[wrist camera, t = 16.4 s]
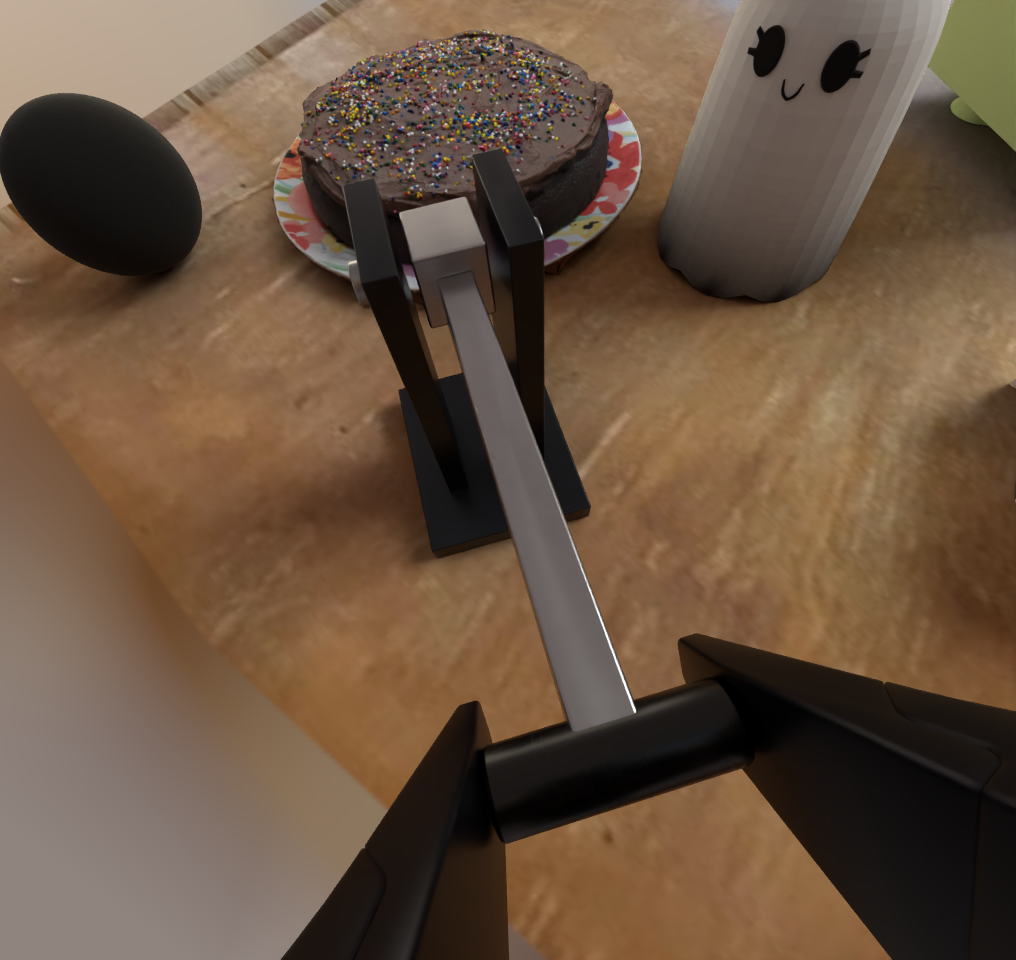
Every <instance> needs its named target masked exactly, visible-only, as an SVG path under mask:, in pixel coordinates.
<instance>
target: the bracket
mask: <svg viewBox="0 0 1016 960" xmlns="http://www.w3.org/2000/svg"><path fill="white" fill-rule="evenodd" d="M471 159H472V166H473V174H474V181H475V189H476V197H477V204H478V212H479V219H480V227H481V232H482V234H483V236H484V239H485V241H486V243H487V249H488V256H489V263H490V270H491V277H492V284H493V291H494V298H495V304H496V312H494V313H492V318H493V325H494V330H495V333H496V336H497V338H498V341H499V344H500V346H501V349H502V352H503V354H504V357H505V360H506V362H507V365H508V368H509V370H510V373H511V376H512V378H513V381H514V384H515V386H516V389H517V392H518V394H519V397H520V399H521V402H522V405H523V407H524V410H525V413H526V415H527V418H528V421H529V423H530V426H531V429H532V431H533V434H534V437H535V439H536V442H537V445H538V447H539V450H540V453H541V455H542V458H543V461H544V463H545V466H546V469H547V471H548V474H549V476H550V479H551V482H552V484H553V487H554V490H555V492H556V495H557V498H558V500H559V503H560V506H561V508H562V511H563V514H564V516H565V519H566V522H568V521H571V520H575V519H578V518H582V517H585V516H588V515H589V512H590V508H591V505H590V503H589V500H588V498H587V495H586V492H585V490H584V487H583V485H582V482H581V479H580V477H579V474H578V471H577V469H576V466H575V464H574V461H573V458H572V456H571V453H570V451H569V448H568V445H567V443H566V440H565V438H564V435H563V432H562V430H561V427H560V425H559V422H558V419H557V417H556V414H555V411H554V409H553V406H552V404H551V401H550V398H549V396H548V393H547V391H546V388H545V385H544V261H545V243H544V237H543V232H542V229H541V226H540V223H539V221H538V219H537V218H536V217H534V216H533V214H532V212H531V209H530V207H529V205H528V203H527V201H526V199H525V196H524V194H523V192H522V190H521V188H520V186H519V183H518V181H517V179H516V177H515V175H514V173H513V171H512V168H511V166H510V164H509V162H508V160H507V158H506V155H505V153H504V151H503V149H502V148H498V149H493V150H489V151H485V152H481V153H476V154H473V155H472V156H471ZM343 192H344V198H345V203H346V208H347V214H348V219H349V224H350V229H351V235H352V240H353V245H354V251H355V256H356V260H355V261H351V262H349V263H348V271H349V275H350V279H351V282H352V286H353V289H354V291H355V294H356V297H357V299H358V301H359V303H360V305H361V307H362V308H363V309H367V308H371V309H372V311H373V314H374V316H375V318H376V321H377V323H378V325H379V328H380V330H381V332H382V335H383V337H384V339H385V342H386V344H387V346H388V349H389V351H390V353H391V356H392V358H393V360H394V363H395V365H396V367H397V370H398V372H399V374H400V377H401V379H402V381H403V384H404V386H405V388H403V389H399V396H400V401H401V406H402V410H403V415H404V420H405V425H406V430H407V434H408V439H409V444H410V449H411V453H412V458H413V463H414V468H415V472H416V477H417V482H418V487H419V492H420V496H421V501H422V506H423V511H424V515H425V520H426V525H427V530H428V535H429V539H430V544H431V549H432V552H433V553H434V555H435V556H436V557H437V558H441V557H444V556H448V555H451V554H455V553H458V552H462V551H465V550H469V549H472V548H476V547H479V546H483V545H486V544H490V543H493V542H497V541H501V540H504V539H508V538H511V535H510V532H509V528H508V525H507V522H506V518H505V515H504V511H503V508H502V505H501V501H500V498H499V495H498V491H497V488H496V484H495V481H494V478H493V474H492V471H491V468H490V464H489V461H488V457H487V454H486V451H485V447H484V444H483V441H482V437H481V434H480V430H479V427H478V424H477V420H476V417H475V414H474V410H473V407H472V403H471V400H470V397H469V393H468V390H467V387H466V383H465V380H464V376H463V373H460V374H457V375H453V376H449V377H445V378H441V379H438V376H437V373H436V369H435V366H434V363H433V360H432V357H431V354H430V351H429V347H428V344H427V341H426V338H425V335H424V332H423V329H422V325H421V322H420V319H419V316H418V313H417V310H416V307H415V303H414V300H413V297H412V294H411V291H410V288H409V285H408V281H407V278H406V275H405V272H404V269H403V266H402V263H401V259H400V256H399V253H398V250H397V247H396V244H395V241H394V237H393V234H392V231H391V228H390V225H389V222H388V219H387V215H386V212H385V209H384V206H383V203H382V200H381V197H380V193H379V190H378V187H377V184H376V181H375V179H374V178H370V179H366V180H362V181H357V182H353V183H349V184H345V185H343Z"/></svg>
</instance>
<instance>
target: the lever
mask: <svg viewBox="0 0 1016 960" xmlns="http://www.w3.org/2000/svg"><path fill="white" fill-rule="evenodd" d="M399 217H400V221H401V225H402V229H403V233H404V237H405V240H406V244H407V248H408V252H409V256H410V260H411V264H412V267H413V270H414V274H415V277H416V281H417V284H418V287H419V291H420V294H421V298H422V301H423V304H424V308H425V311H426V315H427V318H428V321H429V325H430V327H431V328H436V327H440V326H444V325H448V326H449V329H450V333H451V336H452V339H453V343H454V346H455V349H456V353H457V356H458V360H459V363H460V366H461V370H462V373H463V376H464V380H465V383H466V387H467V390H468V393H469V397H470V400H471V403H472V407H473V410H474V414H475V417H476V420H477V424H478V427H479V430H480V434H481V437H482V441H483V444H484V447H485V451H486V454H487V457H488V461H489V464H490V468H491V471H492V474H493V478H494V481H495V484H496V488H497V491H498V495H499V498H500V501H501V505H502V508H503V511H504V515H505V518H506V522H507V525H508V528H509V532H510V535H511V538H512V542H513V545H514V549H515V552H516V555H517V559H518V562H519V566H520V569H521V572H522V576H523V579H524V582H525V586H526V589H527V593H528V596H529V599H530V603H531V606H532V609H533V613H534V616H535V620H536V623H537V626H538V630H539V633H540V636H541V640H542V643H543V647H544V650H545V653H546V657H547V660H548V663H549V667H550V670H551V674H552V677H553V680H554V684H555V687H556V690H557V694H558V697H559V701H560V704H561V707H562V711H563V714H564V717H565V721H564V722H561V723H557V724H554V725H551V726H548V727H544V728H541V729H538V730H535V731H531V732H528V733H525V734H522V735H518V736H515V737H512V738H509V739H505V740H502V741H499V742H496V743H492V744H489V745H486V746H485V747H484V748H483V749H482V755H481V766H482V775H483V782H484V788H485V793H486V798H487V803H488V807H489V811H490V815H491V819H492V822H493V826H494V829H495V831H496V834H497V836H498V838H499V839H500V841H501V842H502V843H506V844H508V843H511V842H514V841H517V840H520V839H523V838H527V837H530V836H533V835H536V834H539V833H542V832H545V831H548V830H551V829H555V828H558V827H561V826H564V825H567V824H570V823H573V822H576V821H580V820H583V819H586V818H589V817H592V816H595V815H598V814H601V813H605V812H608V811H611V810H614V809H617V808H620V807H623V806H626V805H630V804H633V803H636V802H639V801H642V800H645V799H648V798H651V797H654V796H658V795H661V794H664V793H667V792H670V791H673V790H676V789H679V788H683V787H686V786H689V785H692V784H695V783H698V782H701V781H704V780H708V779H711V778H714V777H717V776H720V775H723V774H726V773H729V772H733V771H736V770H739V769H742V768H745V767H748V766H750V765H751V764H752V763H753V761H754V759H755V750H754V745H753V740H752V737H751V733H750V730H749V727H748V725H747V722H746V720H745V718H744V716H743V713H742V711H741V710H740V708H739V706H738V704H737V702H736V701H735V699H734V698H733V696H732V695H731V693H730V692H729V691H728V689H727V688H726V687H725V686H724V685H723V684H722V683H721V682H720V681H719V680H718V679H716V678H711V677H707V678H704V679H700V680H697V681H694V682H691V683H687V684H684V685H681V686H678V687H674V688H671V689H668V690H665V691H661V692H658V693H655V694H652V695H648V696H645V697H642V698H639V699H635V700H633V697H632V694H631V692H630V689H629V686H628V684H627V681H626V678H625V676H624V673H623V670H622V668H621V665H620V662H619V660H618V657H617V654H616V652H615V649H614V646H613V644H612V641H611V638H610V636H609V633H608V631H607V628H606V625H605V623H604V620H603V617H602V615H601V612H600V609H599V607H598V604H597V601H596V599H595V596H594V593H593V591H592V588H591V585H590V583H589V580H588V577H587V575H586V572H585V569H584V567H583V564H582V561H581V559H580V556H579V554H578V551H577V548H576V546H575V543H574V540H573V538H572V535H571V532H570V530H569V527H568V524H567V522H566V519H565V516H564V514H563V511H562V508H561V506H560V503H559V500H558V498H557V495H556V492H555V490H554V487H553V484H552V482H551V479H550V476H549V474H548V471H547V469H546V466H545V463H544V461H543V458H542V455H541V453H540V450H539V447H538V445H537V442H536V439H535V437H534V434H533V431H532V429H531V426H530V423H529V421H528V418H527V415H526V413H525V410H524V407H523V405H522V402H521V399H520V397H519V394H518V392H517V389H516V386H515V384H514V381H513V378H512V376H511V373H510V370H509V368H508V365H507V362H506V360H505V357H504V354H503V352H502V349H501V346H500V344H499V341H498V338H497V336H496V333H495V330H494V328H493V325H492V322H491V320H490V317H489V314H491V313H494V312H496V304H495V298H494V291H493V284H492V277H491V270H490V263H489V256H488V249H487V243H486V241H485V239H484V236H483V234H482V232H481V229H480V227H479V225H478V222H477V220H476V218H475V215H474V213H473V211H472V208H471V206H470V204H469V201H468V199H467V197H461V198H457V199H453V200H449V201H445V202H440V203H436V204H432V205H428V206H424V207H420V208H416V209H411V210H407V211H403V212H400V213H399Z"/></svg>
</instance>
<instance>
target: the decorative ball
mask: <svg viewBox="0 0 1016 960" xmlns="http://www.w3.org/2000/svg"><path fill="white" fill-rule="evenodd" d="M0 174H1V177H2V181H3V183H4V186H5V188H6V191H7V193H8V195H9V197H10V199H11V201H12V202H13V204H14V206H15V207H16V209H17V210H18V212H19V213H20V215H21V216H22V217H23V218H24V220H25V221H26V222H27V223H28V224H29V226H30V227H31V228H32V229H33V230H34V231H35V232H36V233H37V234H38V235H39V236H40V237H42V238H43V239H44V240H45V241H46V242H47V243H49V244H50V245H51V246H53V247H54V248H55V249H57V250H58V251H60V252H61V253H63V254H65V255H66V256H68V257H70V258H71V259H73V260H75V261H77V262H79V263H81V264H83V265H86V266H88V267H91V268H94V269H97V270H100V271H103V272H107V273H112V274H117V275H126V276H142V275H150V274H155V273H159V272H162V271H164V270H167V269H169V268H171V267H173V266H175V265H176V264H178V263H179V262H180V261H182V260H183V259H184V258H185V257H186V256H187V255H188V254H189V252H190V251H191V250H192V248H193V247H194V245H195V243H196V241H197V239H198V236H199V233H200V229H201V222H202V207H201V200H200V196H199V192H198V189H197V186H196V183H195V181H194V178H193V176H192V174H191V172H190V170H189V168H188V167H187V165H186V163H185V162H184V160H183V159H182V157H181V156H180V154H179V153H178V152H177V151H176V149H175V148H174V147H173V146H172V145H171V144H170V142H169V141H168V140H167V139H166V138H165V137H164V136H163V135H162V134H161V133H160V132H158V131H157V130H156V129H155V128H154V127H153V126H151V125H150V124H149V123H147V122H146V121H145V120H143V119H142V118H140V117H139V116H137V115H136V114H133V113H132V112H130V111H129V110H127V109H125V108H123V107H121V106H119V105H117V104H114V103H112V102H109V101H106V100H103V99H100V98H96V97H93V96H88V95H82V94H75V93H58V94H50V95H45V96H41V97H39V98H35V99H33V100H31V101H29V102H27V103H25V104H24V105H22V106H21V107H19V108H18V109H17V110H16V111H15V112H14V113H13V114H12V115H11V116H10V118H9V119H8V121H7V122H6V124H5V126H4V128H3V130H2V133H1V136H0Z"/></svg>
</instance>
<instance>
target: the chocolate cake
mask: <svg viewBox="0 0 1016 960" xmlns="http://www.w3.org/2000/svg"><path fill="white" fill-rule="evenodd" d="M612 99H613V94H612V89H610V88H609V86H608V85H607V84H604V83H602V82H599V83H596V82H595V81H593V82H591V81H589V79H588V76H587V72H585V71H584V70H583V69H582V68H581V67H580V66H579V65H577V64H575V63H572V62H570V61H568V60H566V59H564V58H563V57H562V56H559V55H557V54H555V53H552V52H551V51H549V50H547V49H545V48H543V47H541V46H539V45H538V44H535V43H533V42H531V41H528V40H525V39H521V38H518V37H510V35H508V36H504V35H498V34H496V33H491V32H489V31H487V30H483V29H482V30H481V31H480V30H470V31H465V32H461V33H459V34H455V35H453V36H450V37H447V38H444V39H438V40H434V41H430V40H428V39H424V40H423V41H421V42H419V41H418V43H417V44H416V45H414V46H412V47H409V48H407V49H404V50H401V51H396V52H392V53H388V52H386V53H385V54H382V55H375V56H371V57H369V58H367V59H365V60H360V62H358V63H357V64H356V66H352V70H350V69H348V71H347V72H345V74H343V75H342V76H340V77H339V78H336V80H335V81H333V80H332V81H331V82H330V83H327V84H325V85H323V86H321V87H317V88H316V90H315V91H313V92H312V93H311V94H310V95H309V97H308V98H307V99H305V100H304V102H303V110H304V122H303V123H302V124H301V126H302V132H300V134H299V136H298V137H297V138H296V140H295V141H294V143H293V144H292V145H291V147H290V148H289V150H288V151H287V152H286V154H285V155H284V158H283V159H282V161H281V163H280V165H279V167H278V170H277V172H276V177H275V184H274V189H273V192H274V196H273V199H272V200H273V202H274V204H275V210H276V214H277V218H278V223H280V224H281V227H282V229H283V232H284V233H285V234H286V235H287V236H288V237H289V239H290V241H291V242H292V244H294V245H295V246H296V247H297V248H298V249H299V250H300V251H301V252H302V253H303V254H304V255H305V256H306V257H307V258H309V259H310V260H311V261H312V263H313V264H316V265H318V266H319V267H320V268H323V269H326V270H329V271H330V272H331V273H332V274H334V275H335V276H339V277H342V278H345V279H347V280H348V281H351V279H350V275H349V271H348V263H349V262H351V261H355V260H356V256H355V251H354V245H353V240H352V235H351V229H350V224H349V219H348V214H347V208H346V203H345V198H344V192H343V185H345V184H349V183H353V182H357V181H362V180H366V179H370V178H374V179H375V181H376V184H377V187H378V190H379V193H380V197H381V200H382V203H383V206H384V209H385V212H386V215H387V219H388V222H389V225H390V228H391V231H392V234H393V237H394V241H395V244H396V247H397V250H398V253H399V256H400V259H401V263H402V266H403V269H404V272H405V275H406V278H407V281H408V285H409V288H410V291H411V294H412V297H413V300H414V301H416V302H418V303H421V304H423V301H422V298H421V294H420V291H419V287H418V284H417V281H416V277H415V274H414V270H413V267H412V264H411V260H410V256H409V252H408V248H407V244H406V240H405V237H404V233H403V229H402V225H401V221H400V217H399V213H400V212H403V211H407V210H411V209H416V208H420V207H424V206H428V205H432V204H436V203H440V202H445V201H449V200H453V199H457V198H461V197H467V199H468V201H469V204H470V206H471V208H472V211H473V213H474V215H475V218H476V220H477V222H478V225H479V227H480V219H479V212H478V204H477V197H476V189H475V181H474V174H473V166H472V159H471V156H472V155H473V154H476V153H481V152H485V151H489V150H493V149H498V148H502V149H503V151H504V153H505V155H506V158H507V160H508V162H509V164H510V166H511V168H512V171H513V173H514V175H515V177H516V179H517V181H518V183H519V186H520V188H521V190H522V192H523V194H524V196H525V199H526V201H527V203H528V205H529V207H530V209H531V212H532V214H533V216H534V217H536V218H537V219H538V221H539V223H540V226H541V229H542V232H543V237H544V243H545V261H544V271H547V272H550V273H553V274H556V275H558V274H559V272H560V271H561V269H562V268H563V267H564V265H565V264H566V263H567V261H568V260H569V259H570V257H572V256H573V255H574V254H575V253H576V252H577V251H578V250H579V249H581V248H583V247H584V246H585V245H586V244H588V243H590V242H592V241H593V240H595V239H596V238H598V237H599V235H600V234H601V233H603V232H604V231H605V230H607V229H608V228H609V227H611V226H612V224H613V223H614V222H615V221H616V220H617V219H619V215H620V213H621V212H622V211H623V210H624V209H625V207H626V206H627V205H628V203H629V201H630V200H631V199H632V197H633V195H634V194H635V192H636V190H637V189H638V185H639V178H640V174H641V173H642V169H641V162H642V155H641V144H640V142H639V138H638V135H637V132H636V130H635V128H634V125H633V123H632V122H631V121H630V119H629V117H628V116H627V114H626V113H625V112H624V111H623V110H622V109H621V108H620V107H619V106H618V105H617V104H616V103H615V102H614V101H613V100H612ZM480 229H481V227H480ZM423 305H424V304H423Z"/></svg>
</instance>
